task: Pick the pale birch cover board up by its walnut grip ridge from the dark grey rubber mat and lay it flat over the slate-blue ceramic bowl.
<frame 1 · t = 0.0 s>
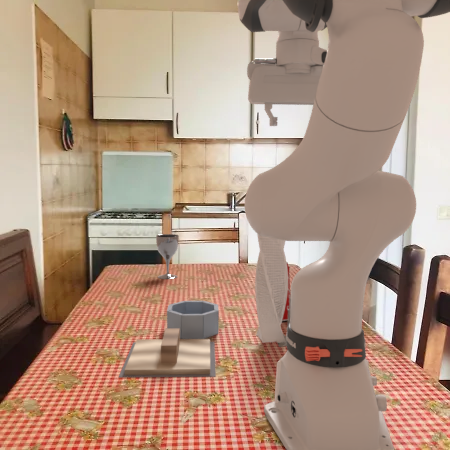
hand: (295, 126, 102), 48 cm above the table, tool pointing down, fingers open, 8 cm apart
wine glass: (167, 277, 174), on the table
beverage can: (278, 319, 126), on the table
cover board: (170, 357, 99), resting on rubber mat
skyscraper: (271, 342, 110), on the table
rubber mat: (170, 360, 99), on the table
bowl: (193, 332, 116), on the table
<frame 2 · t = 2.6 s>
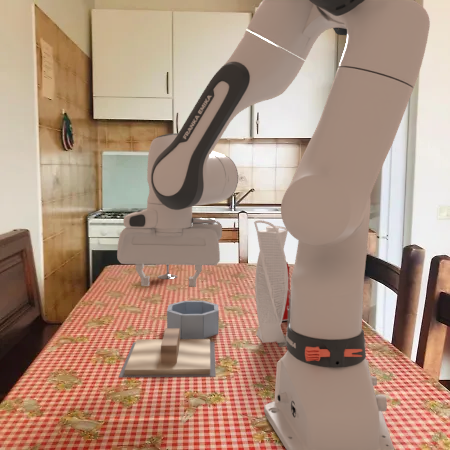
hand: (168, 285, 97), 15 cm above the table, tool pointing down, fingers open, 8 cm apart
nothing on the table moved.
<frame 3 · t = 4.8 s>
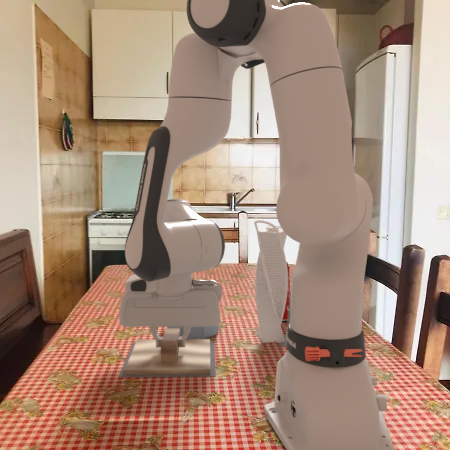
hand: (170, 346, 98), 3 cm above the table, tool pointing down, fingers closed on cover board, 3 cm apart
cover board: (170, 357, 99), resting on rubber mat, touching gripper
everything else where it was.
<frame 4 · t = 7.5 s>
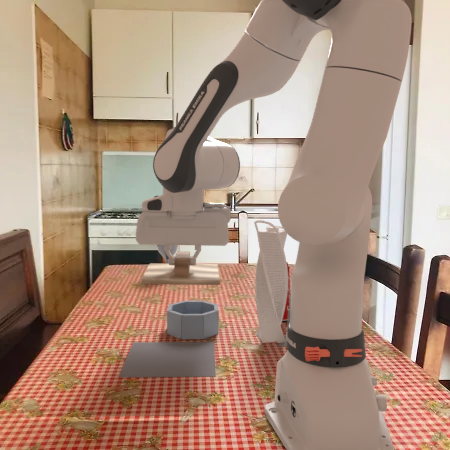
hand: (182, 265, 106), 18 cm above the table, tool pointing down, fingers closed on cover board, 3 cm apart
cover board: (182, 275, 107), point 15 cm above the table, touching gripper
everything else where it was.
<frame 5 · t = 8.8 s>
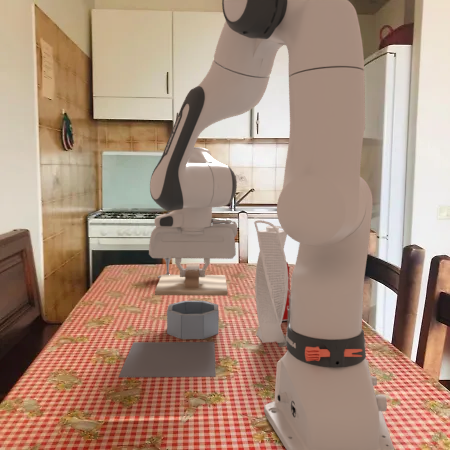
hand: (192, 276, 114), 13 cm above the table, tool pointing down, fingers closed on cover board, 3 cm apart
cover board: (192, 286, 114), point 11 cm above the table, touching gripper
everything else where it was.
when the fingers open (9 cm above the table, at t = 10.1 s): cover board stays where it is, resting on bowl.
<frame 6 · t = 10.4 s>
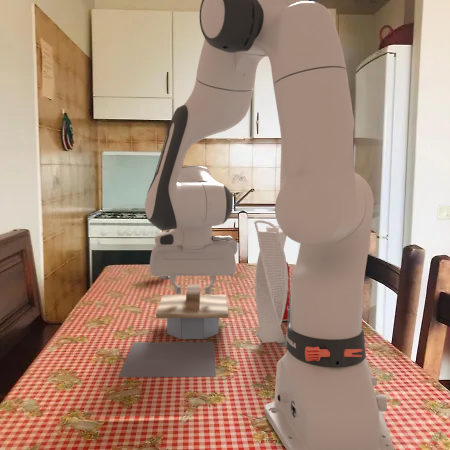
hand: (193, 293, 114), 9 cm above the table, tool pointing down, fingers open, 6 cm apart
cover board: (193, 307, 115), point 6 cm above the table, touching bowl
everything else where it was.
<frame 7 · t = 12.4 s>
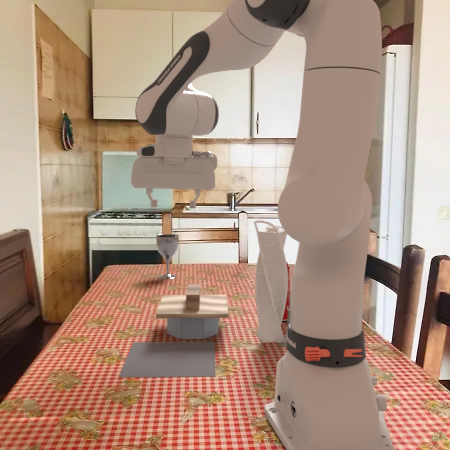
hand: (173, 207, 118), 29 cm above the table, tool pointing down, fingers open, 8 cm apart
nothing on the table moved.
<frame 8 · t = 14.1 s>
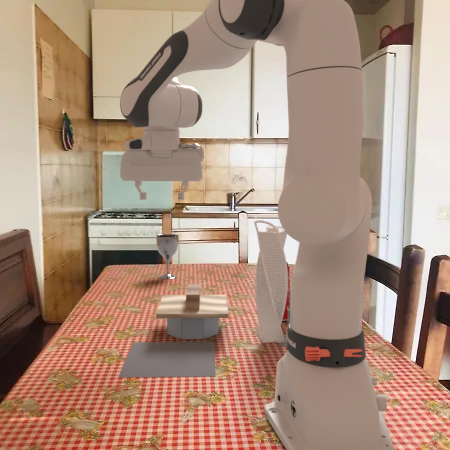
hand: (162, 199, 121), 31 cm above the table, tool pointing down, fingers open, 8 cm apart
nothing on the table moved.
at the end: cover board 0.1 cm off-centre on the bowl, point 6.0 cm above the bowl's base; cover board tilted 0°; cover board touching bowl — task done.
